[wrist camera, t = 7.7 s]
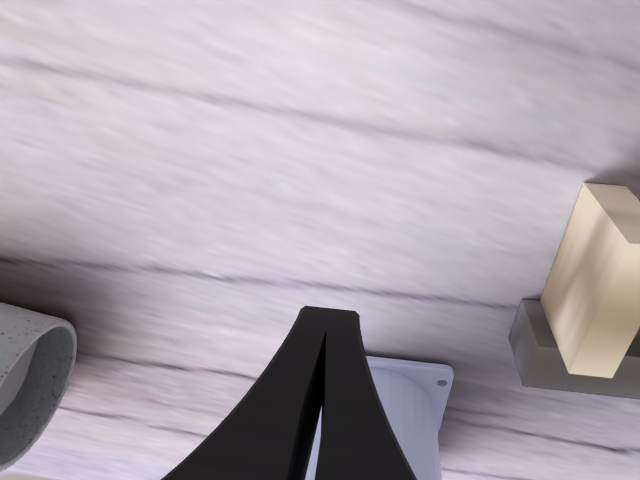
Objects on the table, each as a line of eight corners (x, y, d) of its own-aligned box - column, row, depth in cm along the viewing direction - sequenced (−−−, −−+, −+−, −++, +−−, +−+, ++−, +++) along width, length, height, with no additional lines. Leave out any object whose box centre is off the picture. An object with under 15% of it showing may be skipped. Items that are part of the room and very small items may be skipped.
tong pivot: (628, 349, 23) (672, 427, 20) (508, 336, 24) (530, 411, 20) (713, 193, 19) (791, 258, 15) (562, 180, 19) (602, 240, 15)
